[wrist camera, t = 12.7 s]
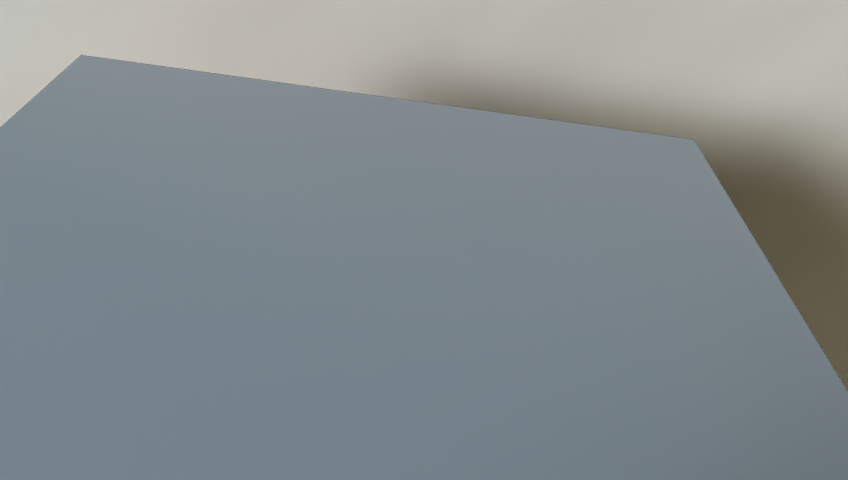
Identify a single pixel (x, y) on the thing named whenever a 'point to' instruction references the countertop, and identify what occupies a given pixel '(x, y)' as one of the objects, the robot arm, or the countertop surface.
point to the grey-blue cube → (382, 295)
